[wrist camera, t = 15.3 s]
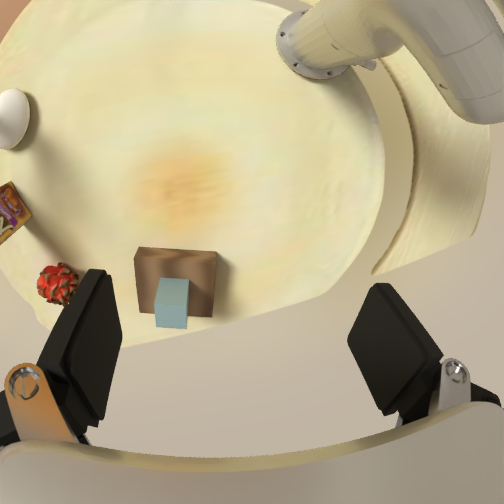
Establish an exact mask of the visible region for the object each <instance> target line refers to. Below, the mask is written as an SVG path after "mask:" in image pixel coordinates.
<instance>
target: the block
mask: <svg viewBox="0 0 504 504" xmlns="http://www.w3.org/2000/svg"><path fill="white" fill-rule="evenodd" d="M188 303H189V279H175V278H161V277H160V281H159V285H158V289H157V293H156V297H155V302H154V308H155V319H156V327H163V328H177V329H187V316H188Z"/></svg>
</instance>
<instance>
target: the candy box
mask: <svg viewBox="0 0 504 504" xmlns="http://www.w3.org/2000/svg"><path fill="white" fill-rule="evenodd" d="M31 217H32V215H31V213H30V212H29V210H28V209H27V207H26V206H25V204H24V203H23V201H22V200H21V198H20V196H19V195H18V193H17V191H16V190H15V188H14V186H13V184H12V182H11V181H10V182H8V183H6V184H4V185H3V186H1V187H0V245H1V244H2V243H3V242H5V241H6V240H7V239H8V238H9V237H10V236H11V235H12V234H14V233H15V232H16V231H17V230H18V229H19V228H21V227H22V226H23V225H24V224H25V223H26V222H27V221H28V220H29V219H30V218H31Z"/></svg>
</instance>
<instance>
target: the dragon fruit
mask: <svg viewBox="0 0 504 504" xmlns="http://www.w3.org/2000/svg"><path fill="white" fill-rule="evenodd" d="M61 264H62V263H58V266H57V267H56V266H47V267H45V268H44V269H43V271H42V272H41V273H40V277H39V279H38V280H37V290H38V289H39V290H38V294H39V295H41V296H42V297H43V298H48V299H47V301H46V302H48V303H54V304H59V305H63V306H64V307H65V306H66V305H68V302H70V300H71V299H72V297H73V295H74V293H75V292H76V290H77V288H78V286H79V284H78V282H77V281H76V280H75V279H76V278H77V279H79V276H78V274H76V273H72V272H71V271H70V269H68V268H65V267H64V266H63V265H61Z"/></svg>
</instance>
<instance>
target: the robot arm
mask: <svg viewBox="0 0 504 504" xmlns="http://www.w3.org/2000/svg"><path fill="white" fill-rule="evenodd" d="M493 1H494V2H495V4H496V6H497V7H498V9H499V11H500V12H501V14H502V16H503V17H504V0H493ZM302 14H303V15H302ZM280 34H282V35H283V37H282V36H280ZM276 45H277V49H278V51H279V54H280V56H281V57H282V59H283V60H284V62H285V63H286V64H287V65H288V66H289V67H290V68H291V69H293V70H294V71H295V72H297V73H299V74H301V75H302V76H305V77H308V78H313V79H328V78H332V77H335V76H338V75H339V74H341V73H343V72H344V71H345V70H346V69H347V68H348V66H349V65H354V66H356V65H357V64H358V65H360V66H362V67H364V68H367V69H369V70H374V69H375V68H376V61H375V60H372V59H376V58H382V57H386V56H389V55H392V54H394V53H395V52H397V51H398V50H399V49H400V48H401V47H402V46H403V45H405V46H406V48H407V49H408V50H409V51H410V53H411V54H412V55H413V56H414V57H415V58H416V59H417V61H418V62H419V63H420V65H421V66H422V68H423V69H424V70H425V72H426V73H427V75H428V76H429V77H430V79H431V80H432V82H433V83H434V85H435V86H436V88H437V89H438V91H439V92H440V94H441V95H442V97H443V98H444V100H445V101H446V103H447V104H448V106H449V107H450V108H451V109H452V110H453V112H454V113H455V114H456V115H458V116H459V117H460V118H462V119H463V120H465V121H467V122H470V123H474V124H482V125H487V124H495V123H500V122H503V121H504V33H503V31H502V29H501V27H500V26H499V24H498V22H497V21H496V18H495V16H494V14H493V13H492V11H491V10H490V8H489V6H488V5H487V3H486V2H485V0H320V1H319V2H318V3H317V4H316V5H314V6H313V7H312V8H311V9H310V10H308V9H307V10H300V11H297V12H294V13H292V14H290V15H289V16H287V17H286V18H285V19H284V20H283V21H282V23H281V24H280V26H279V28H278V30H277V34H276ZM294 64H296V67H294ZM327 72H328V73H329V75H328V74H327ZM347 342H348V346H349V348H350V350H351V352H352V354H353V356H354V358H355V360H356V362H357V364H358V366H359V368H360V371H361V372H362V375H363V377H364V379H365V381H366V383H367V385H368V387H369V390H370V392H371V394H372V396H373V398H374V401H375V403H376V405H377V407H378V409H380V410H381V411H382V413H383V415H384V416H387V415H390V414H394V413H395V412H396V411H397V410H398V412H399V416H398V420H397V424H396V427H395V428H394V429H391V430H388V431H385V432H381V433H378V434H375V435H371V436H368V437H364V438H360V439H357V440H353V441H349V442H344V443H340V444H336V445H331V446H326V447H322V448H316V449H310V450H304V451H298V452H290V453H283V454H274V455H265V456H250V457H231V458H195V457H193V458H192V457H175V456H162V455H151V454H141V453H133V452H127V451H120V450H114V449H108V448H102V447H96V446H92V445H91V444H90V442H89V440H88V438H87V437H86V435H85V433H86V431H87V426H93V427H98V424H99V420H103V419H104V416H105V411H106V406H107V401H108V396H109V392H110V386H111V382H112V378H113V374H114V370H115V366H116V362H117V358H118V354H119V350H120V346H121V343H122V329H121V325H120V320H119V316H118V311H117V306H116V300H115V295H114V289H113V283H112V277H111V275H107V273H106V271H105V270H100V269H89V270H88V271H87V273H86V274H85V276H84V278H83V279H82V281H81V283H80V285H79V286H78V288H77V290H76V292H75V293H74V295H73V297H72V299H71V300H70V302H69V304H68V305H66V306H65V307H64V308H63V310H62V312H61V314H60V316H59V318H58V320H57V322H56V323H55V325H54V327H53V329H52V331H51V334H50V336H49V338H48V340H47V342H46V344H45V346H44V348H43V350H42V353H41V355H40V357H39V359H38V362H37V364H36V365H34V364H32V363H23V364H19V365H17V366H15V367H13V368H12V369H11V370H10V372H9V373H8V375H7V376H6V379H5V384H4V387H5V390H3V391H1V392H0V504H504V409H503V408H501V403H500V400H499V398H498V396H497V395H496V394H493V393H492V392H490V391H488V390H486V389H484V388H482V387H479V386H477V385H475V384H473V383H471V382H470V374H469V372H468V369H467V368H466V367H465V366H464V364H462V363H461V362H460V361H458V360H456V359H453V358H448V359H446V360H444V361H443V363H442V364H440V362H439V361H440V360H441V358H442V357H443V356H444V355H443V353H442V352H441V350H440V349H439V347H438V346H437V345H436V343H435V342H434V340H433V339H432V338H431V336H430V335H429V333H428V332H427V331H426V329H425V328H424V327H423V325H422V324H421V323H420V321H419V320H418V319H417V317H416V316H415V315H414V313H413V312H412V311H411V310H410V308H409V307H408V306H407V304H406V303H405V302H404V300H403V299H402V298H401V297H400V295H399V294H398V293H397V292H396V290H395V289H394V288H393V287H392V286H391V285H390V284H389V283H376V284H374V285H373V287H371V288H370V289H369V291H368V294H367V296H366V298H365V301H364V303H363V305H362V307H361V310H360V312H359V314H358V316H357V318H356V321H355V322H354V325H353V327H352V329H351V331H350V333H349V335H348V339H347Z"/></svg>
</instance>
